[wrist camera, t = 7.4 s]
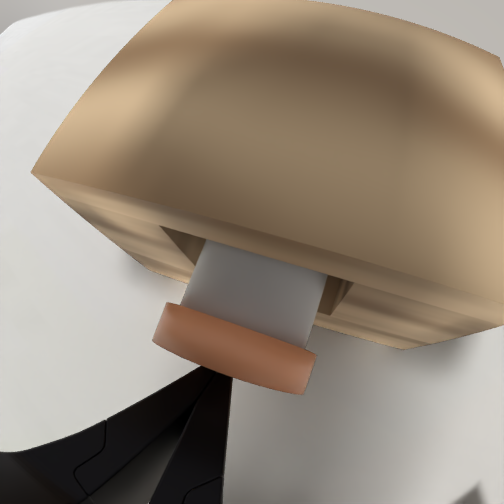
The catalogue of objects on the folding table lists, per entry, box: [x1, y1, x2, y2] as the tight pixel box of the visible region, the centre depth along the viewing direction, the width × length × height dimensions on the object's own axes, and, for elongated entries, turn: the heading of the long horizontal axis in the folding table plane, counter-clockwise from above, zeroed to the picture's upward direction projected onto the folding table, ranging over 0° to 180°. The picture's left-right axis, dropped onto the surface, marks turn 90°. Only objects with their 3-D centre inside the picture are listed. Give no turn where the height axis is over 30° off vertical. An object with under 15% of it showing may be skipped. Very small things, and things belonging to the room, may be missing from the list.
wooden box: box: [31, 0, 504, 350], centre depth 13 cm, size 10×14×10 cm
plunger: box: [152, 239, 328, 395], centre depth 11 cm, size 8×5×5 cm, turn 161°
